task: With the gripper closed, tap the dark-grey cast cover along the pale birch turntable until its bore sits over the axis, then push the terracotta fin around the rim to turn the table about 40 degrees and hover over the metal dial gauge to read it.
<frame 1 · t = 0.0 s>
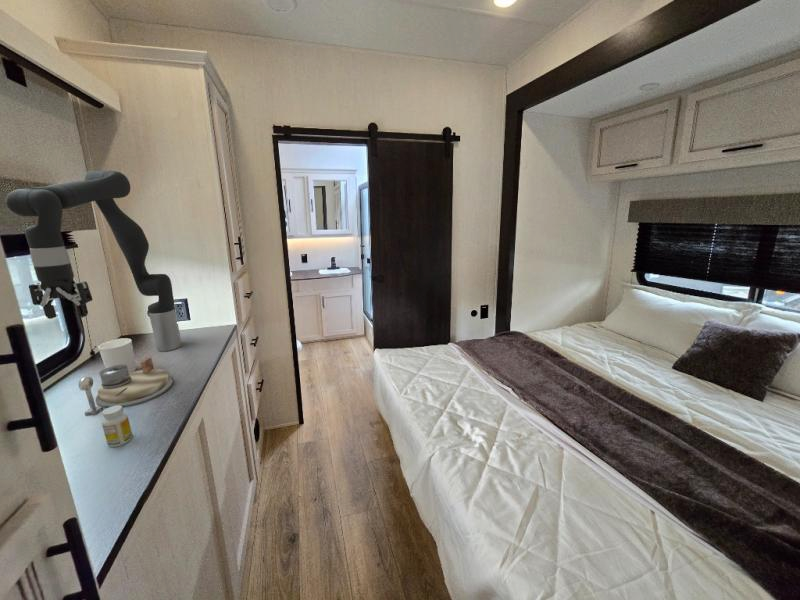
hand: (67, 317, 101), 29 cm above the worktop, fingers open, 8 cm apart
candle holder: (122, 372, 130), on the worktop
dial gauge: (94, 412, 105), on the worktop
turntable: (134, 378, 116), point 5 cm above the worktop, hinge at 0.0°, touching cover
supplement bottle: (120, 441, 92), on the worktop
cover: (117, 383, 115), point 3 cm above the worktop, touching turntable
turntable base: (136, 390, 117), on the worktop
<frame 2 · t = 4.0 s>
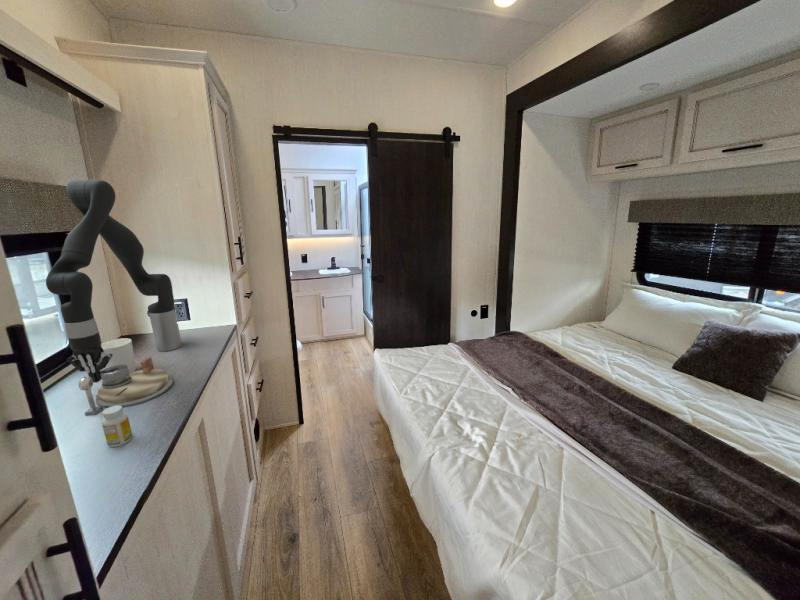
hand: (96, 381, 114), 4 cm above the worktop, fingers closed
turntable: (134, 378, 116), point 5 cm above the worktop, hinge at 0.1°
cover: (117, 383, 115), point 3 cm above the worktop, touching gripper
everything else where it was.
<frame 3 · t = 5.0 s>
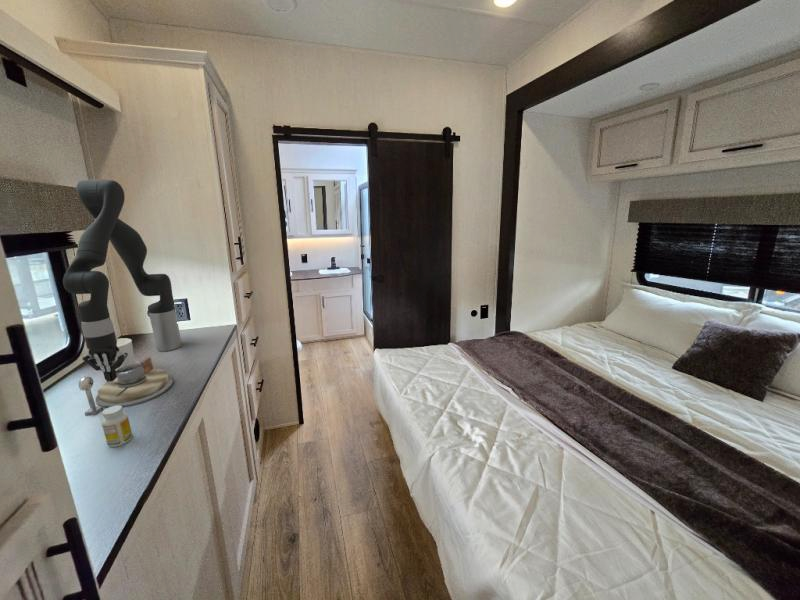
hand: (111, 380, 115), 4 cm above the worktop, fingers closed
turntable: (134, 378, 116), point 5 cm above the worktop, hinge at 1.2°, touching cover
cover: (132, 382, 116), point 3 cm above the worktop, touching gripper, turntable
everything else where it was.
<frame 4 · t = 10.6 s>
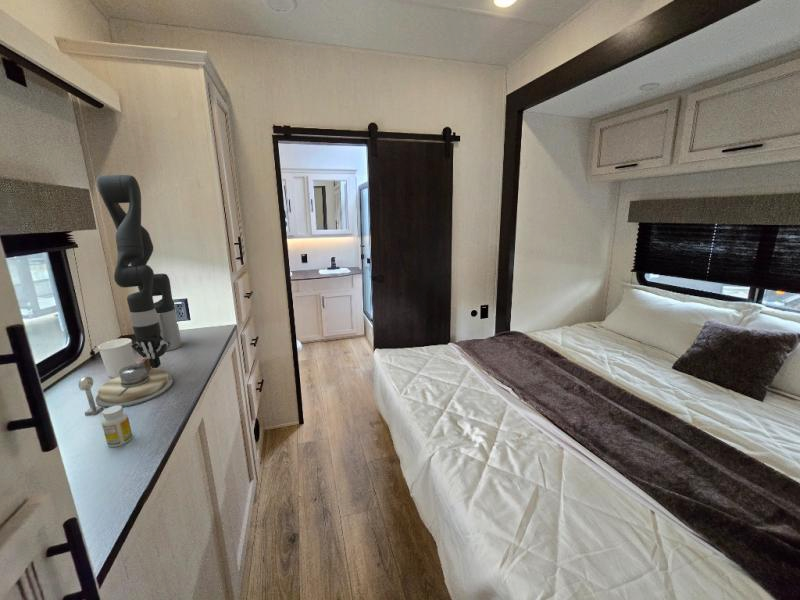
hand: (156, 367, 124), 4 cm above the worktop, fingers closed
turntable: (134, 378, 116), point 5 cm above the worktop, hinge at 4.3°, touching cover, gripper
cover: (135, 382, 116), point 3 cm above the worktop, touching turntable
everything else where it was.
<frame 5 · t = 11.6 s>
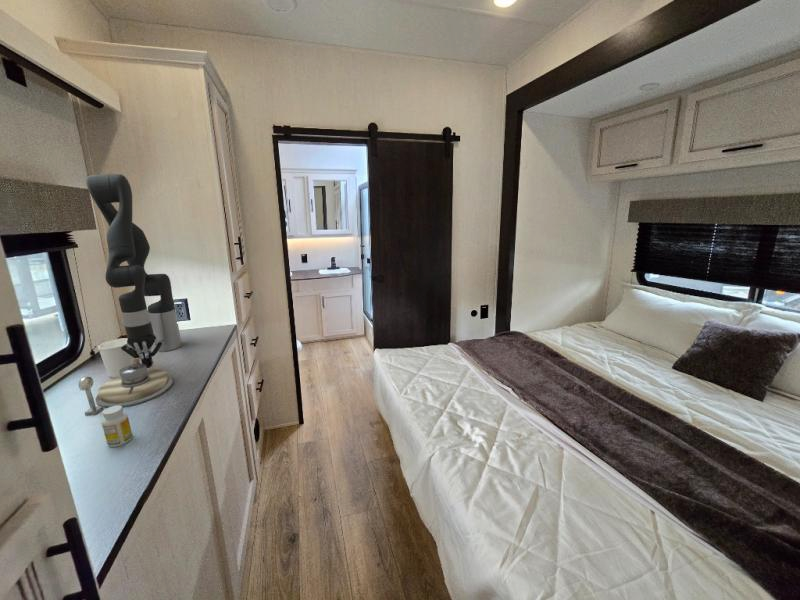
hand: (148, 367, 124), 5 cm above the worktop, fingers closed
turntable: (133, 378, 116), point 5 cm above the worktop, hinge at 22.9°, touching cover, gripper
everything else where it was.
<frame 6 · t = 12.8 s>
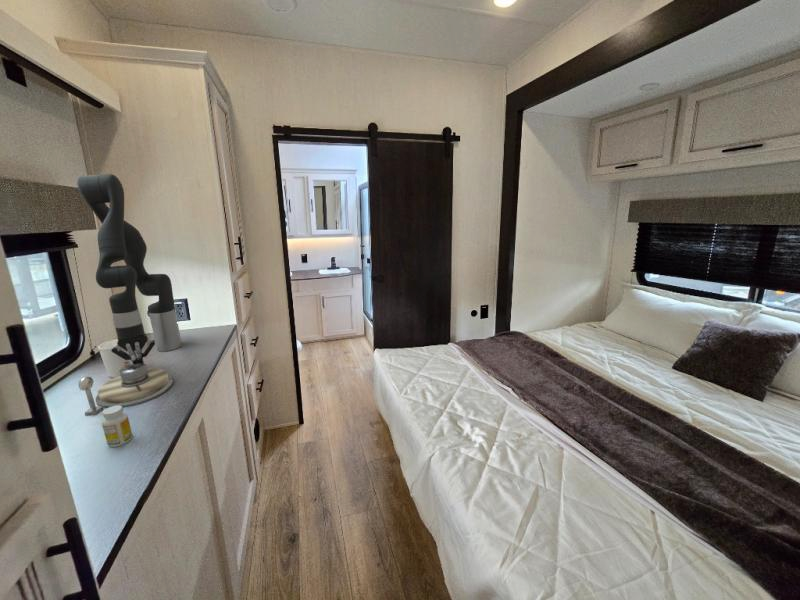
hand: (139, 368, 123), 4 cm above the worktop, fingers closed
turntable: (133, 378, 116), point 5 cm above the worktop, hinge at 41.2°, touching cover, gripper
everything else where it was.
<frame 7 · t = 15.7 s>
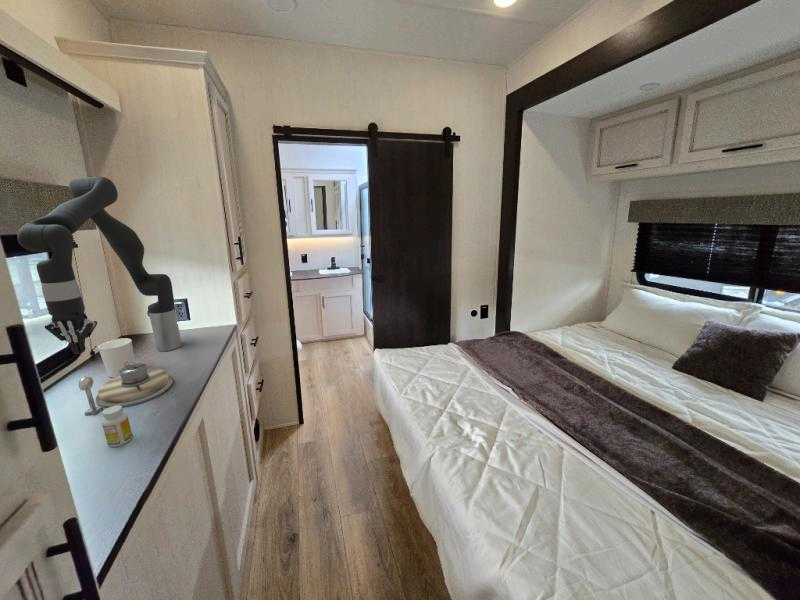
hand: (79, 352, 101), 19 cm above the worktop, fingers closed
turntable: (133, 378, 116), point 5 cm above the worktop, hinge at 41.3°, touching cover
everything else where it was.
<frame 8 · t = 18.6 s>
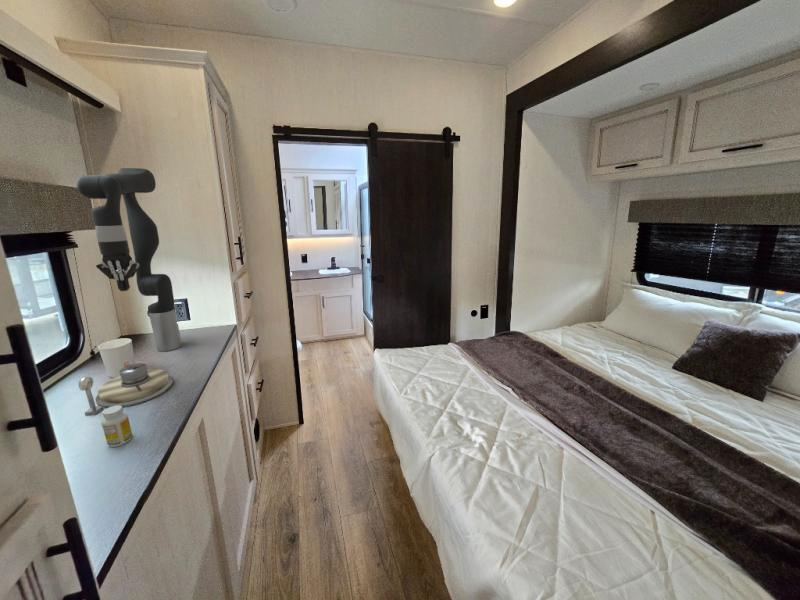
hand: (124, 290, 117), 33 cm above the worktop, fingers closed
nothing on the worktop moved.
at the end: cover 0.4 cm from the turntable (horizontally); turntable at +41° (first picture: +0°); cover tilted 0° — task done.
